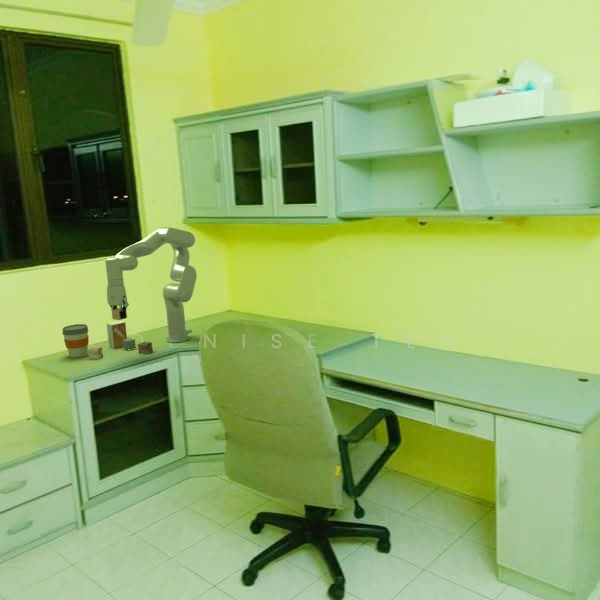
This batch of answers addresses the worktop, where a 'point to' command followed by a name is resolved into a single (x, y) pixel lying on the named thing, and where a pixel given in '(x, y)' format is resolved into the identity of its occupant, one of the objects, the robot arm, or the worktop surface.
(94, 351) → the pale oak cube
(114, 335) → the small box
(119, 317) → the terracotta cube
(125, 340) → the slate grey cube
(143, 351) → the walnut cube
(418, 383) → the worktop surface
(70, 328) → the reusable coffee cup
